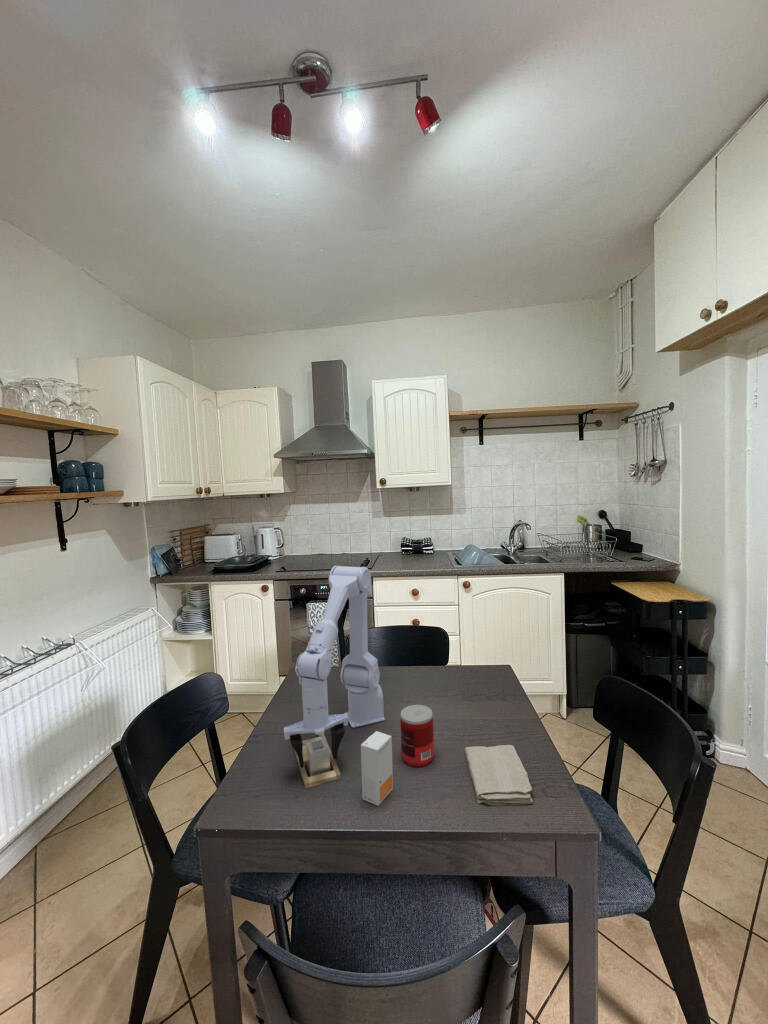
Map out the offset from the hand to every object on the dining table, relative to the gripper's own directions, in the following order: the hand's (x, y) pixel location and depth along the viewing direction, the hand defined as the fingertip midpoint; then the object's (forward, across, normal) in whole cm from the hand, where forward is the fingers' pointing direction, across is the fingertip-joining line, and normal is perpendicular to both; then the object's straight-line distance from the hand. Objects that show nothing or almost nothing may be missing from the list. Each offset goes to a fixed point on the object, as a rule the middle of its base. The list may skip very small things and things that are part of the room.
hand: (318, 760), depth 101 cm
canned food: (+2, +23, -5) cm, 24 cm away
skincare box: (+2, +10, -13) cm, 17 cm away
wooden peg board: (+2, 0, +7) cm, 7 cm away
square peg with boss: (+2, 0, 0) cm, 2 cm away
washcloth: (+3, +36, -18) cm, 40 cm away
